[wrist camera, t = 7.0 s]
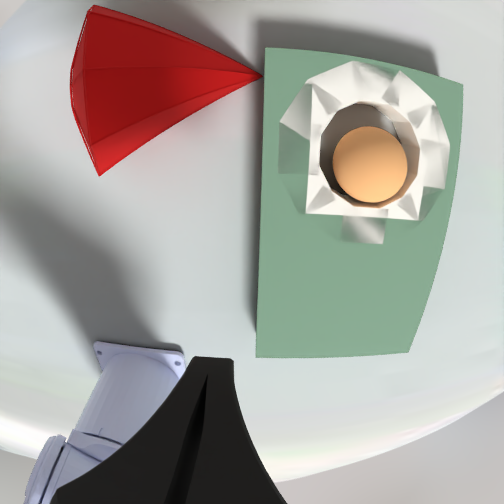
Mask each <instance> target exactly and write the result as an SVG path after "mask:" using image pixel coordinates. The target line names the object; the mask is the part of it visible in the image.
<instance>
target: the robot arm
mask: <svg viewBox="0 0 504 504" xmlns="http://www.w3.org/2000/svg"><path fill="white" fill-rule="evenodd" d="M93 348H94V351H95V353H96V356H97V359H98V361H99V364H100V367H101V369H102V374H101V376H100V378H99V380H98V382H97V384H96V386H95V388H94V390H93V392H92V394H91V396H90V398H89V400H88V402H87V404H86V406H85V408H84V410H83V412H82V414H81V416H80V418H79V420H78V423H77V425H76V427H75V429H73V430H72V432H71V434H70V436H69V439H68V441H67V443H66V442H65V440H66V438H65V437H64V436H62V435H60V434H59V435H57V436H53V437H49V439H48V440H47V442H46V443H45V445H44V447H43V449H42V451H41V453H40V455H39V457H38V459H37V461H36V464H35V466H34V468H33V471H32V473H31V476H30V478H29V481H28V484H27V487H26V491H25V496H26V497H25V501H24V504H287V503H286V501H285V500H284V498H283V497H282V495H281V494H280V493H279V491H278V489H277V488H276V486H275V485H274V483H273V481H272V479H271V478H270V476H269V474H268V473H267V471H266V469H265V467H264V465H263V464H262V462H261V460H260V458H259V456H258V454H257V451H256V449H255V447H254V445H253V443H252V440H251V438H250V435H249V433H248V430H247V428H246V425H245V422H244V419H243V416H242V413H241V410H240V406H239V402H238V398H237V394H236V390H235V384H234V361H233V360H232V359H230V358H214V357H199V356H195V357H193V358H192V360H191V361H190V363H189V365H188V367H187V368H186V366H185V360H184V355H183V354H182V353H180V352H178V351H168V350H159V349H150V348H141V347H133V346H126V345H119V344H112V343H105V342H99V341H96V342H95V343H94V345H93ZM100 351H101V352H100ZM177 361H179V362H177Z"/></svg>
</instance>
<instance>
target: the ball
mask: <svg viewBox="0 0 504 504" xmlns="http://www.w3.org/2000/svg"><path fill="white" fill-rule="evenodd" d="M333 170H334V174H335V177H336V179H337V181H338V183H339V185H340V186H341V187H342V189H343V190H344V191H345V192H346V193H348V194H349V195H350V196H352V197H353V198H355V199H358V200H360V201H364V202H380V201H384V200H386V199H388V198H390V197H392V196H393V195H395V194H396V193H397V192H398V191H399V189H400V188H401V187H402V185H403V183H404V181H405V178H406V175H407V158H406V155H405V152H404V149H403V147H402V146H401V144H400V143H399V141H398V140H397V139H396V138H395V137H394V136H393V135H391V134H390V133H389V132H387V131H385V130H383V129H380V128H377V127H370V126H366V127H359V128H356V129H354V130H351V131H350V132H348V133H347V134H345V135H344V136H343V137H342V138H341V140H340V141H339V142H338V144H337V146H336V148H335V151H334V154H333Z"/></svg>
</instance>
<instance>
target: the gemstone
mask: <svg viewBox="0 0 504 504" xmlns="http://www.w3.org/2000/svg"><path fill="white" fill-rule="evenodd" d="M91 9H92V10H91ZM90 10H91V11H90ZM86 18H87V21H86ZM85 22H86V24H85ZM84 25H85V27H84ZM83 28H84V31H83ZM82 31H83V34H82ZM81 35H82V37H81ZM80 38H81V40H80ZM79 42H80V43H79ZM78 45H79V47H78ZM77 49H78V50H77ZM72 69H73V77H72ZM262 77H263V76H262V75H261V74H259V73H257V72H255V71H254V70H252V69H250V68H248V67H246V66H244V65H243V64H241V63H239V62H237V61H235V60H233V59H231V58H229V57H227V56H225V55H223V54H221V53H219V52H217V51H215V50H213V49H211V48H209V47H207V46H205V45H203V46H202V44H200V43H198V42H196V41H194V40H191V39H189V38H187V37H185V36H182V35H180V34H178V33H175V32H173V31H170V30H168V29H165V28H163V27H160V26H158V25H155V24H152V23H150V22H147V21H144V20H142V19H139V18H136V17H133V16H130V15H127V14H124V13H121V12H118V11H115V10H111V9H108V8H105V7H101V6H98V5H93V6H92V7H91V8H90V9H89V10H88V11H87V14H86V17H85V20H84V23H83V27H82V30H81V33H80V36H79V40H78V43H77V47H76V50H75V54H74V58H73V62H72V66H71V72H70V97H71V107H72V111H73V114H74V118H75V120H76V123H77V126H78V128H79V131H80V133H81V136H82V138H83V141H84V143H85V145H86V148H87V150H88V153H89V155H90V157H91V160H92V162H93V164H94V167H95V169H96V171H97V173H98V176H101V175H102V174H103V173H105V172H106V171H107V170H109V169H110V168H111V167H113V166H114V165H115V164H117V163H118V162H120V161H121V160H122V159H124V158H125V157H127V156H128V155H129V154H131V153H132V152H134V151H135V150H137V149H138V148H139V147H141V146H142V145H144V144H145V143H147V142H148V141H150V140H151V139H153V138H154V137H156V136H157V135H159V134H161V133H162V132H164V131H165V130H167V129H168V128H170V127H172V126H173V125H175V124H177V123H178V122H180V121H181V120H183V119H185V118H186V117H188V116H190V115H192V114H193V113H195V112H197V111H198V110H200V109H202V108H204V107H205V106H207V105H209V104H211V103H213V102H214V101H216V100H218V99H220V98H222V97H224V96H226V95H227V94H229V92H230V93H231V92H233V91H235V90H237V89H239V88H241V87H243V86H245V85H247V84H249V83H251V82H253V81H255V80H257V79H259V78H262ZM72 92H73V98H72ZM73 103H74V107H73ZM79 125H80V126H79ZM80 127H81V129H80ZM81 130H82V131H81ZM82 132H83V134H82ZM83 135H84V136H83ZM84 137H85V139H84ZM85 140H86V141H85ZM86 142H87V144H86ZM87 145H88V146H87ZM88 147H89V149H90V151H89V149H88ZM90 152H91V154H92V156H91V154H90ZM92 157H93V159H94V161H93V159H92Z"/></svg>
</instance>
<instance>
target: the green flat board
mask: <svg viewBox="0 0 504 504" xmlns="http://www.w3.org/2000/svg"><path fill="white" fill-rule="evenodd" d="M354 103H357V104H364V105H371V106H374V107H375V108H376V109H377V110H379V111H380V112H381V113H382V114H384V115H385V116H386V117H387V118H388V119H390V120H391V121H392V123H393V125H394V128H395V130H396V133H397V135H398V137H399V140H400V142H401V146H402V147H403V149H404V152H405V155H406V158H407V175H406V178H405V181H404V183H403V185H402V187H401V188H400V189H399V191H398V192H397V193H396V194H395V195H393V196H392V197H390V198H388V199H386V200H384V201H380V202H364V201H360V200H358V199H355V198H353V197H352V196H350V195H341V194H340V193H339V192H337V191H336V190H334V189H333V188H331V187H330V186H329V185H328V182H327V180H326V178H325V176H324V174H323V172H322V170H321V168H320V166H319V158H320V141H321V134H322V133H323V131H324V130H325V128H326V127H327V125H328V124H329V122H330V121H331V119H332V118H333V116H334V115H335V113H336V112H337V111H338V110H340V109H343V108H345V107H347V106H350V105H352V104H354ZM462 113H463V84H460V83H457V82H454V81H451V80H448V79H445V78H442V77H439V76H436V75H433V74H429V73H426V72H422V71H419V70H415V69H411V68H407V67H403V66H399V65H395V64H391V63H386V62H382V61H377V60H372V59H367V58H361V57H355V56H349V55H343V54H336V53H328V52H320V51H311V50H300V49H286V48H265V59H264V102H263V140H262V176H261V209H260V240H259V270H258V299H257V326H256V358H329V357H354V356H371V355H385V354H397V353H407V352H409V350H410V347H411V345H412V342H413V339H414V337H415V334H416V332H417V329H418V326H419V324H420V321H421V318H422V315H423V312H424V309H425V306H426V303H427V300H428V297H429V294H430V291H431V288H432V284H433V281H434V278H435V274H436V271H437V267H438V263H439V260H440V256H441V252H442V248H443V244H444V240H445V236H446V231H447V227H448V222H449V217H450V212H451V207H452V201H453V196H454V190H455V183H456V176H457V169H458V161H459V152H460V142H461V130H462Z"/></svg>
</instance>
